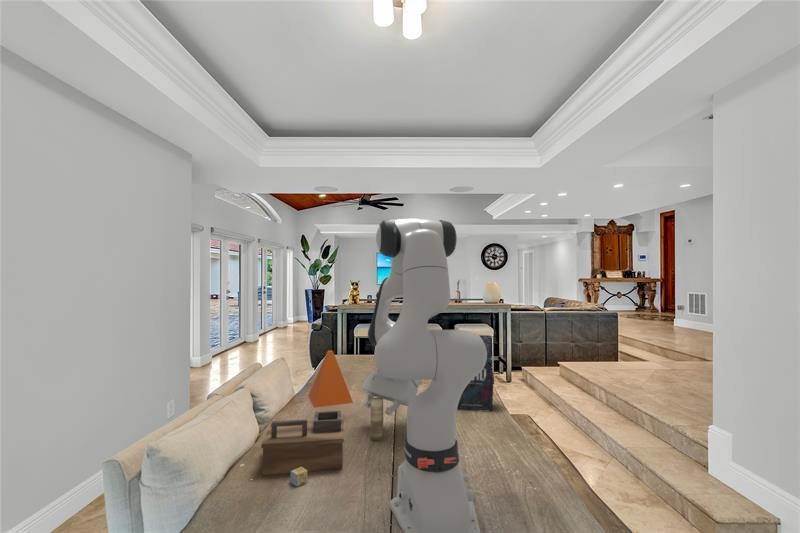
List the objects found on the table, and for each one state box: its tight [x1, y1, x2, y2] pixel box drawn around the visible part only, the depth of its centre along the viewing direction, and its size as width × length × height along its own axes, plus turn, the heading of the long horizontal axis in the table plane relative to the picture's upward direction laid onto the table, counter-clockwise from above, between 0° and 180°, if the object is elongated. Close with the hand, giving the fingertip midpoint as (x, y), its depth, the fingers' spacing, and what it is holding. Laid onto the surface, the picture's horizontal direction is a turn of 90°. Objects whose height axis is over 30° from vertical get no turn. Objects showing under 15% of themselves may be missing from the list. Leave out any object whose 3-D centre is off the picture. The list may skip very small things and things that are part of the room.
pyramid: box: [308, 350, 354, 409], centre depth 156 cm, size 16×16×20 cm
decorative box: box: [457, 334, 494, 412], centre depth 147 cm, size 8×16×28 cm, turn 81°
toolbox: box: [260, 410, 345, 476], centre depth 105 cm, size 14×21×12 cm, turn 99°
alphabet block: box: [289, 467, 308, 488], centre depth 93 cm, size 3×3×3 cm
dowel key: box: [370, 397, 384, 441], centre depth 119 cm, size 4×4×12 cm
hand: (376, 410), depth 119 cm, fingers open, 8 cm apart
